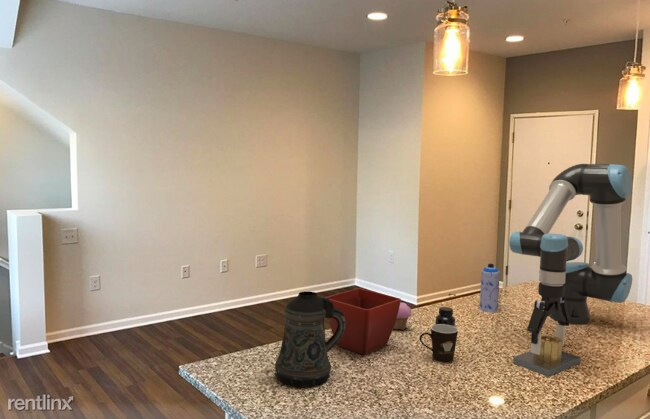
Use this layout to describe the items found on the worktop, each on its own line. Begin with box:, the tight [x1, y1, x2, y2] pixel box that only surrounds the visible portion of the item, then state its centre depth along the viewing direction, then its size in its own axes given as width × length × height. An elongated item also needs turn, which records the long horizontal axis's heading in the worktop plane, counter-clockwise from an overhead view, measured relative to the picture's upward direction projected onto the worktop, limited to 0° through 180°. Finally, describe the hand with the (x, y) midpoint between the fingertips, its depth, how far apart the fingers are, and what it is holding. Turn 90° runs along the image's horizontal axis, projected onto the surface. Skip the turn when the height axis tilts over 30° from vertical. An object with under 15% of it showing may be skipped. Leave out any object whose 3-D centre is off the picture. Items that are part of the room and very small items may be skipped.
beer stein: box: [274, 291, 346, 389], centre depth 150 cm, size 16×19×25 cm
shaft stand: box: [512, 350, 581, 377], centre depth 162 cm, size 18×12×6 cm, turn 125°
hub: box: [534, 333, 563, 362], centre depth 162 cm, size 8×8×6 cm
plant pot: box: [324, 288, 402, 355], centre depth 174 cm, size 19×19×17 cm
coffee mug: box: [419, 324, 459, 363], centre depth 165 cm, size 12×9×10 cm
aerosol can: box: [478, 263, 501, 313], centre depth 219 cm, size 8×8×20 cm
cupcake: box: [393, 302, 412, 331], centre depth 193 cm, size 9×9×10 cm
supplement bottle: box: [434, 306, 456, 327], centre depth 180 cm, size 7×7×12 cm
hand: (547, 348), depth 162 cm, fingers open, 13 cm apart
